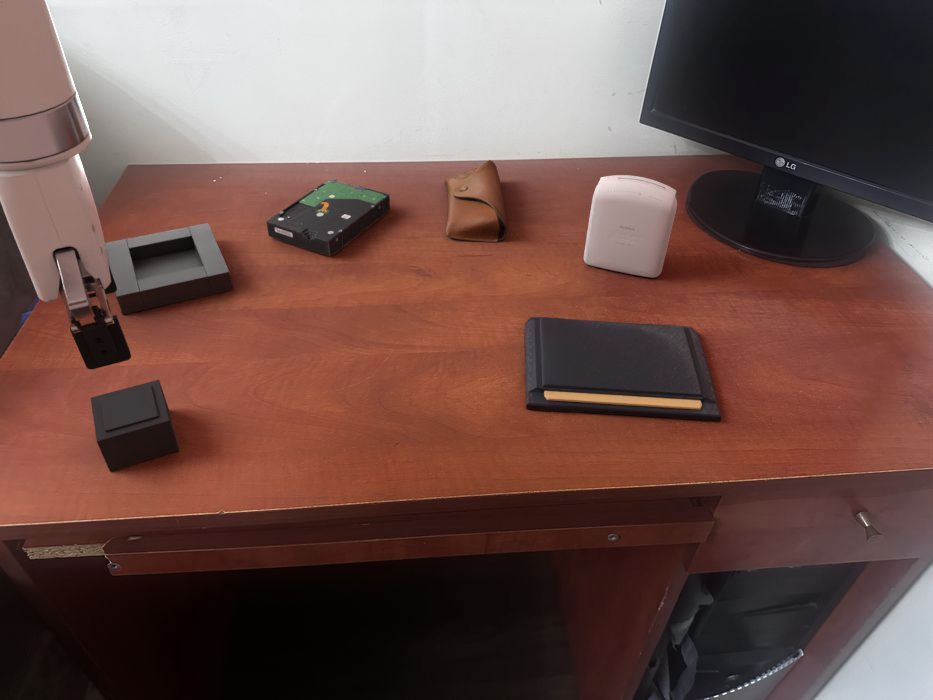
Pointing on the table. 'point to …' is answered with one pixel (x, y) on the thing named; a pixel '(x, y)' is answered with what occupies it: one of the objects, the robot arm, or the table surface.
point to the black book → (617, 369)
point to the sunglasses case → (476, 205)
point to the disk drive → (328, 217)
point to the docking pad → (167, 268)
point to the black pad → (133, 425)
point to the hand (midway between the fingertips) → (103, 326)
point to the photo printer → (630, 225)
